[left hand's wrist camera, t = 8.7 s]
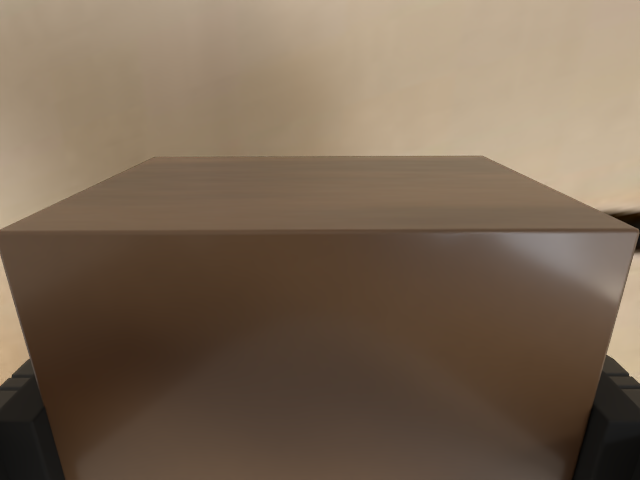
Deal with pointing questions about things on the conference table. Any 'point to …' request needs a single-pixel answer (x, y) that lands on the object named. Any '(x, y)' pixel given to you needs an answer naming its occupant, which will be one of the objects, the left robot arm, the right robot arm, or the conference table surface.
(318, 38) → the conference table surface
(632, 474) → the left robot arm
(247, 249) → the thick board
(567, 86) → the conference table surface
